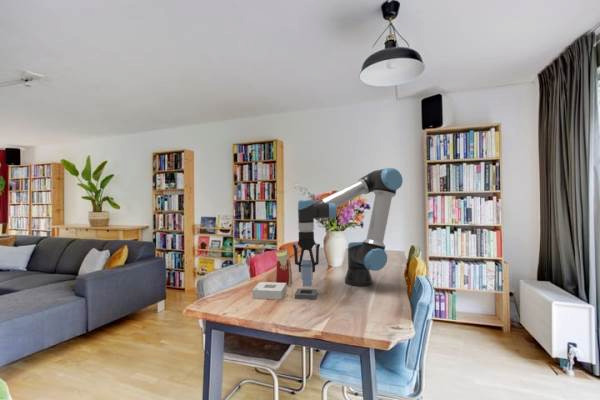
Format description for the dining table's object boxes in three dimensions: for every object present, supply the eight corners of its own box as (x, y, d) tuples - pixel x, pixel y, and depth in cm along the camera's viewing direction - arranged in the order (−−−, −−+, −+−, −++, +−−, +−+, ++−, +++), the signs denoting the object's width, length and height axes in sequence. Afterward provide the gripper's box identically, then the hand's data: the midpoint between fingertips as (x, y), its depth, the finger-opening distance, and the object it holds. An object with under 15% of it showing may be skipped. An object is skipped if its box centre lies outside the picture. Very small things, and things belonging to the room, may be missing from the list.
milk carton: (292, 282, 168) (292, 247, 168) (290, 286, 159) (290, 249, 159) (276, 281, 169) (276, 246, 169) (273, 286, 160) (273, 249, 160)
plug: (311, 284, 145) (311, 260, 145) (311, 286, 141) (310, 261, 141) (303, 284, 146) (303, 259, 146) (302, 286, 142) (302, 261, 142)
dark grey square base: (317, 293, 148) (317, 289, 148) (315, 299, 138) (315, 295, 138) (297, 292, 149) (297, 288, 149) (294, 298, 139) (294, 294, 139)
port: (286, 290, 152) (286, 282, 152) (281, 299, 138) (281, 290, 138) (260, 289, 153) (260, 281, 153) (252, 298, 139) (252, 289, 139)
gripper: (324, 230, 146) (325, 277, 146) (290, 230, 148) (290, 276, 148) (323, 231, 139) (324, 281, 139) (287, 232, 141) (288, 280, 141)
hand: (307, 278), depth 143 cm, fingers closed on plug, 4 cm apart
